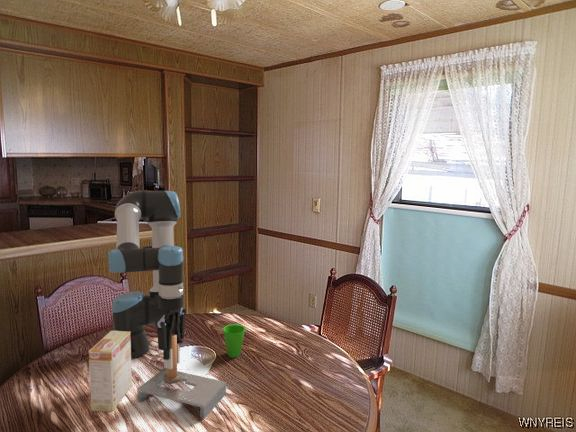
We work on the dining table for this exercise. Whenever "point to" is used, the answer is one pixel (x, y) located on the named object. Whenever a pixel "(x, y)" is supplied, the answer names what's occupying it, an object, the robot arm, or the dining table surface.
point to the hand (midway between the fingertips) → (171, 364)
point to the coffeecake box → (110, 370)
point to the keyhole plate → (201, 395)
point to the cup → (234, 339)
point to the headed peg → (172, 373)
